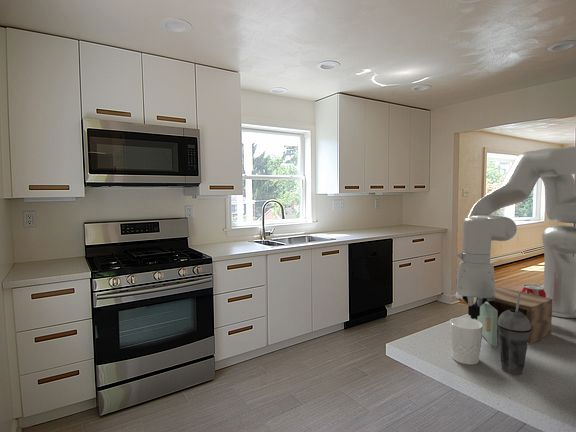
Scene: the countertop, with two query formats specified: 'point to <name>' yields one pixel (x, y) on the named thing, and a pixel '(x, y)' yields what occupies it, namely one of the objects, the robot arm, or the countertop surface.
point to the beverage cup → (513, 339)
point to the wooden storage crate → (526, 310)
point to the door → (488, 322)
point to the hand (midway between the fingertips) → (473, 317)
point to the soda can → (534, 290)
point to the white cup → (465, 340)
